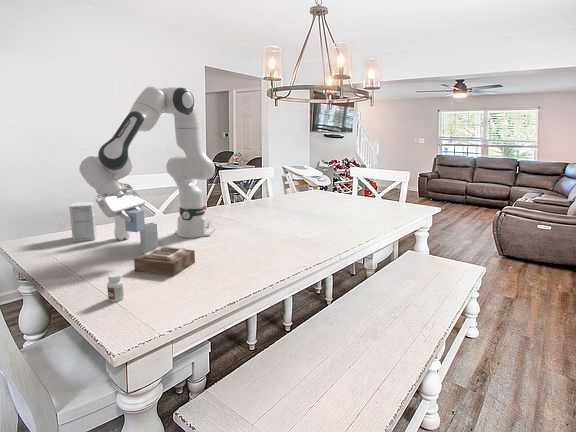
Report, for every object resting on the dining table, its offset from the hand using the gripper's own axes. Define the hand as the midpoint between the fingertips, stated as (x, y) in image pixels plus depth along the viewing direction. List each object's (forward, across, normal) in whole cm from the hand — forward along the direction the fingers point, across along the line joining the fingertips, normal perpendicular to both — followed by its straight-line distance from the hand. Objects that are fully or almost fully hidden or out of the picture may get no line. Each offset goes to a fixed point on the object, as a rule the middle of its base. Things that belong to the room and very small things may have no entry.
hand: (136, 219), depth 148 cm
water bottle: (-6, +26, +31) cm, 41 cm away
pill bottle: (+22, -32, +2) cm, 39 cm away
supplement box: (-18, +21, +43) cm, 51 cm away
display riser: (+22, -2, +3) cm, 22 cm away
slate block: (+3, 0, +4) cm, 4 cm away
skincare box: (+10, +13, +15) cm, 22 cm away
